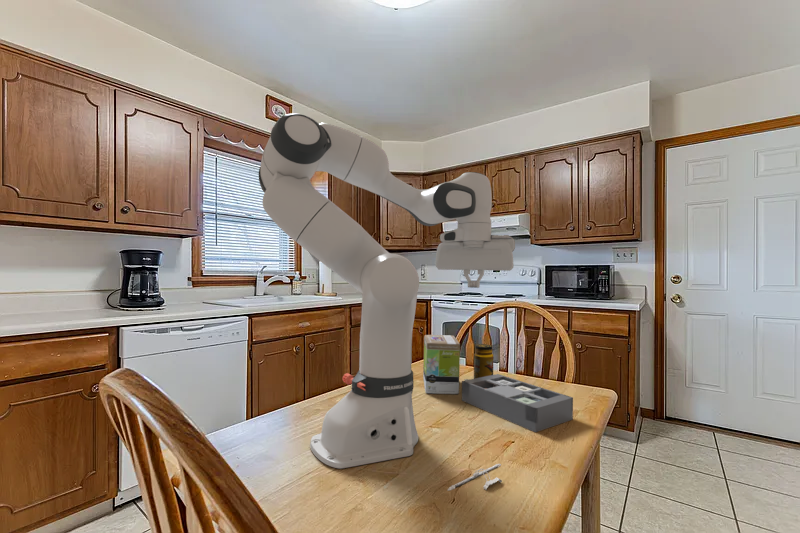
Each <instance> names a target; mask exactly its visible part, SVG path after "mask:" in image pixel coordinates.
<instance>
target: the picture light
mask: <svg viewBox="0 0 800 533" xmlns="http://www.w3.org/2000/svg"><path fill="white" fill-rule="evenodd" d="M501 465H502V463H496V464H495V465H492V466H491V467H488V468H485V469H484V468H479V469H478V470H475V472H474V473H473V474H472V476H470V477H467V478H465V479H464V480H461V481H459V482H457V483H455V484H452V485H451V486H449V487H448V488H447V491H452V490H455V489H456V488H459V487H461V486H463V485H465V484H467V483H469V482H471V481H473V480H475V479H477V478H479V477H481V476H484V478H485V481H486V482H485V483H484V485H483V490H485V491H487V490H488V488H489V486H491V485H493V484H495V483H497V481H499V482H498V483H500V484H502V483H503V480H502V479H501V478H498V477H495V478H494V479H491V477H490V474H489V473H490V472H491V471H493V470H496V469H497V468H499V467H501ZM486 474H487V477H488V478H489V480H488V478H487V477H486ZM501 482H502V483H501Z"/></svg>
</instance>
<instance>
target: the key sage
mask: <svg viewBox="0 0 800 533" xmlns="http://www.w3.org/2000/svg"><path fill="white" fill-rule="evenodd" d="M516 400H518V401H520V402H523V403H526V404H530V403H534V402H537V401H534V400H531V399H528V398H525V397H523V398H519V399H516Z"/></svg>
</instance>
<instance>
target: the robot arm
mask: <svg viewBox="0 0 800 533" xmlns="http://www.w3.org/2000/svg"><path fill="white" fill-rule="evenodd" d="M316 172H325V173H328V174H330V175H332V176H334V177H335V178H337V179H339V180H341V181H343V182H345V183H347V184H349V185H353V186H355V187H357V188H360V189H363V190H366V191H368V192H371V193H372V194H375V195H377V196H379V197H381V198H383V199H385V200H386V201H388V202H390V203H393V204H394V205H396V206H398V207H400V208H402V209H403V210H405V211H407V212H408V213H409V214H410V215H411V217H413V218H414V219H415V220H416V221H417V222H418V223H419V224H421V225H423V226H425V227H432V226H433V227H434V226H437V225H439V224H441V223H446V222H449V221H453V220H456V221H457V222H456V223H457V228H455V229H452V230H449V231H446V232H443V233H441V234H440V236H439V239H440V240H439V241H441V243H439V244H438V246H437V248H436V255H435V268H437V270H443V271H447V270H452V271H463V276H464V278H465V280H466V281H467V288H471V289H472V288H473V289H474V288H477V289H479V288H480V287H481V286H480V282H481V280H482V279H483V278H484V275H485V271H509V272H510V271H513V269H514V264H515V263H514V256H513V255H514V254H513V252H514V251H515V250H516V249H515V248H516V240H515V239H514V238H513V237H512V236H510V235H509V234H504V235H500V234H492V220H491V210H492V207H493V206H492V205H493V204H492V202H493V201H492V200H493V199H492V187H491V182H490V179H489V177H488V176H486V175H485V174H483V173H481V172H474V171H473V172H472V171H468V172H464V173H462V174H461V175H460V176H458V177H456V178H455V179H452V180H449V181H445V182H442V183H440V184H437V185H434V186H432V187H431V188H428V189H418V188H416V187H414V186H412V185H410V184H409V183H407V182H405V181H403V180H401V179H399V178H397V177H396V176H394V174H392V172H391V171H390V164H389V159H388V156H387V153H386V151H385V150H384V149H383V148H381V146H379V145H378V144H376V143H375V142H373V141H371V140H369V139H368V138H366V137H364V136H362V135H359V134H357V133H356V132H354V131H351V130H349V129H345V128H343V127H340V126H337V125H333V124H331V123H326V122H321V123H319V122H317V121H316V120H315V119H313V118H312V117H309V116H307V115H304V114H300V113H287V114H284V115H282V116H280V117H279V118H278V120H277V121H276V122H275V123H274V125H273V127H272V128H271V131H270V136H269V138H268V140H267V143H266V144H265V147H264V149H263V152H262V156H261V161H260V166H259V169H258V182H259V184H260V189H261V190H262V191H263V193H264V194H263V197H262V207H263V210H264V212H265V213H266V215H268V216H269V218H270V219H271V220H272V221H273V222H274V224H276V225H277V226H278V227H279V228H280V229H281V230H282V231H283V232H284V233H285V234H286V235H287V236H288V237H289V238H291V240H293V241H294V242H296V243H297V244H298V245H299V246H301V248H303V249H305V250H306V251H307V252H308V253H309V254H310V255H311V256H313V257H314V258H315V259H317V260H318V261H319V262H320V263H322V264H323V265H325V266H326V267H327V268H328V269H330V270H331V271H332V272H334V273H335V274H336V275H337V276H339V278H341V279H342V280H343V281H346V283H348V284H349V285H350V286H351V287H353V288H354V289H355V290H357V292H359V293H360V294H362V296H361V297H362V298H361V299H362V300H361V317H360V332H359V370H357V372H356V375H355V376H354V375H352V374H350V373H348V372H347V373H344V374H343V376H342V379H341V380H342V381H343V383H345V384H346V385H349V386H350V385H351V387H350V388H351V390H350V391H349V392H348V393H346V394H345V396H343V397H342V398H341V399H340V400H339V401H337V403H336V404H334V405H333V406H332V407H331V408H330V409H329V410H327V412H326V413H325V415H324V418H323V420H322V426H321V432H320V433H318V434H315V435H312V436H311V439H310V445H309V447H310V450H311V452H312V453H313V455H314V456H315V457H316V458H317V459H318V460H319V461H320V462H322V463H323V464H324V465H327V466H328V467H332V468H336V469H345V468H346V469H347V468H351V467H357V466H362V465H367V464H373V463H378V462H384V461H389V460H390V461H391V460H395V459H399V458H405V457H410V456H412V455H413V454H414V447H415V445H417V443H418V442H419V434H418V431H417V427H416V422H415V416H414V408H413V406H414V405H413V392H414V371H413V370H412V364H413V363H412V361H413V360H412V358H413V357H412V356H413V353H412V351H413V348H412V346H413V328H414V323H415V322H414V321H415V317H416V316H415V315H416V311H417V310H416V308H417V299H418V291H419V289H420V277H419V274H418V271H417V269H416V267H415V266H414V265H413V263H412V262H411V261H410V260H409V259H408V258H407V257H405V256H403V255H402V254H398V253H390V252H389V251H388V250H386V249H385V248H384V247H383V246H382V245H381V244H380V243H379V242H378V241H377V240H376V239H375V238H374V237H373V236H372V235H371V234H369V232H368V231H367V230H366V229H364V227H363V226H362V225H360V223H358V222H357V221H356V220H355V219H353V218H352V217H351V216H350V215H348V214H347V213H346V211H344V210H343V209H341V208H340V207H339V206H338V205H336V204H335V203H334V202H333V201H331V199H329V198H328V197H327V196H325V195H324V194H322V193H321V192H320V191H318V190H317V189H316V188H315V187H314V186H313V184H312V182H311V179H312V178H313V177H314V175H315V174H316ZM471 271H477V275H479V276H478V277H477V279H476V280H471V278H470V276H469V275H470V274H471Z"/></svg>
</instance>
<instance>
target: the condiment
mask: <svg viewBox="0 0 800 533" xmlns="http://www.w3.org/2000/svg"><path fill="white" fill-rule="evenodd" d="M474 348H475V349H474V351H475V352H474V354H473V379H475V378H480V377H485V376H490V375H494V354H493V346H492V345H491V344H487V343H478V344H475V347H474ZM465 380H470V378H466V379H465V378H464V380H463V381H465Z"/></svg>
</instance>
